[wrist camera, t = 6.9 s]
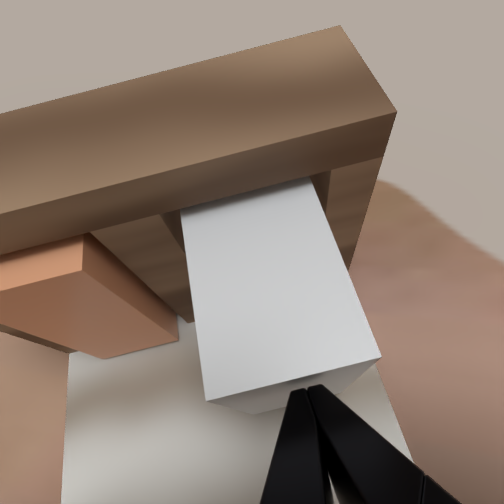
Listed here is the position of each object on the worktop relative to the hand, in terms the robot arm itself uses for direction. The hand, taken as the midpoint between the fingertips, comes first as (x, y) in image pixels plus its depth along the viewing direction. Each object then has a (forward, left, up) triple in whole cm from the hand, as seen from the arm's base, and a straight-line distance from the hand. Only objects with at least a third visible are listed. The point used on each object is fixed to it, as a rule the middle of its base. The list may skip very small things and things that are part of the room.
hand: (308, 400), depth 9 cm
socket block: (+2, +4, -8) cm, 9 cm away
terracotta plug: (+8, +7, -7) cm, 12 cm away
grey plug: (+3, 0, -7) cm, 8 cm away
